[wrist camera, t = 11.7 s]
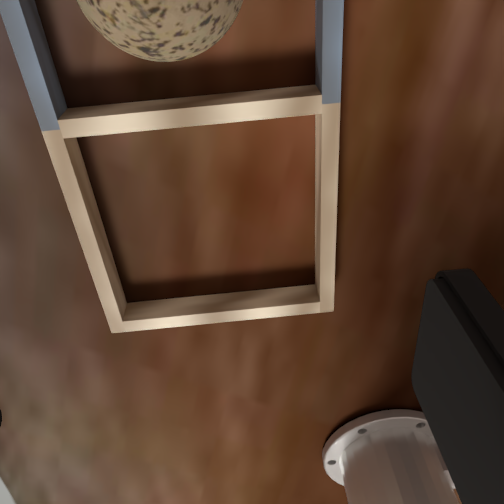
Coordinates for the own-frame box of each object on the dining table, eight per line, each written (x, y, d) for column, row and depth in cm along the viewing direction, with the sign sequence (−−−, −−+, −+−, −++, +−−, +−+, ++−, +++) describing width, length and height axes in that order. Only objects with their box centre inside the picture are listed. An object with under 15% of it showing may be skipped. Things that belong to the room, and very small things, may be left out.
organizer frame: (341, -304, 18) (354, -327, 16) (328, 293, 35) (333, 311, 33) (-74, -266, 18) (-104, -286, 16) (116, 314, 35) (111, 333, 33)
